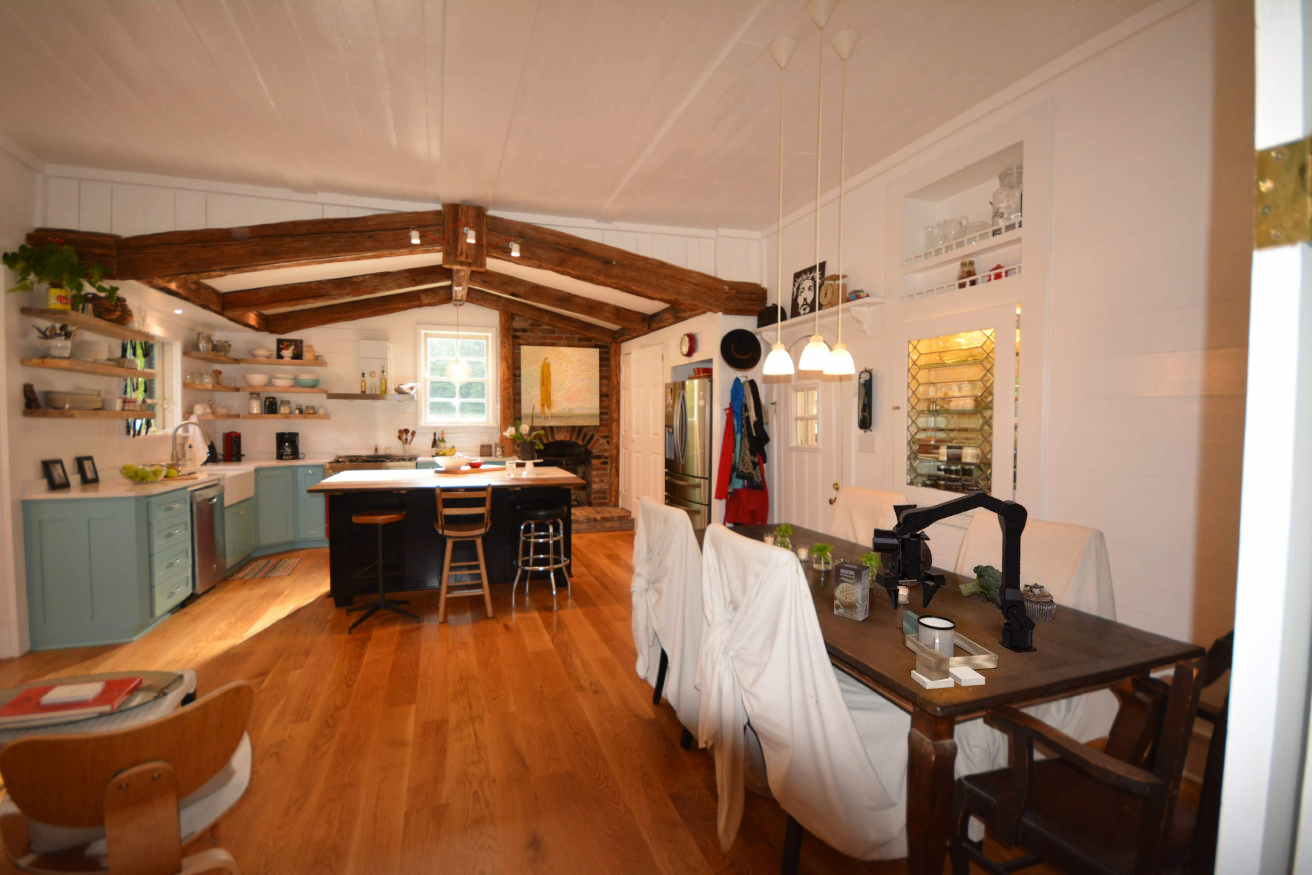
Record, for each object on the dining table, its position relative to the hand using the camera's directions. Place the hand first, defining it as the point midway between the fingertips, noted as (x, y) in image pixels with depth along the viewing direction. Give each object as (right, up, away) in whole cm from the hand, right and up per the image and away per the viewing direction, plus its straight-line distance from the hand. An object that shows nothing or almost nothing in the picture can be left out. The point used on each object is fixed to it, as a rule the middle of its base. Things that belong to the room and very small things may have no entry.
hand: (909, 608), depth 165 cm
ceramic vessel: (+21, -6, +50) cm, 55 cm away
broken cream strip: (-2, -9, -27) cm, 28 cm away
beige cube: (-7, -8, -28) cm, 29 cm away
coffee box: (-11, -7, +17) cm, 22 cm away
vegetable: (+40, -7, +34) cm, 52 cm away
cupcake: (+47, -7, +16) cm, 50 cm away
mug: (+1, -9, -13) cm, 16 cm away
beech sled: (+4, -8, -10) cm, 13 cm away
